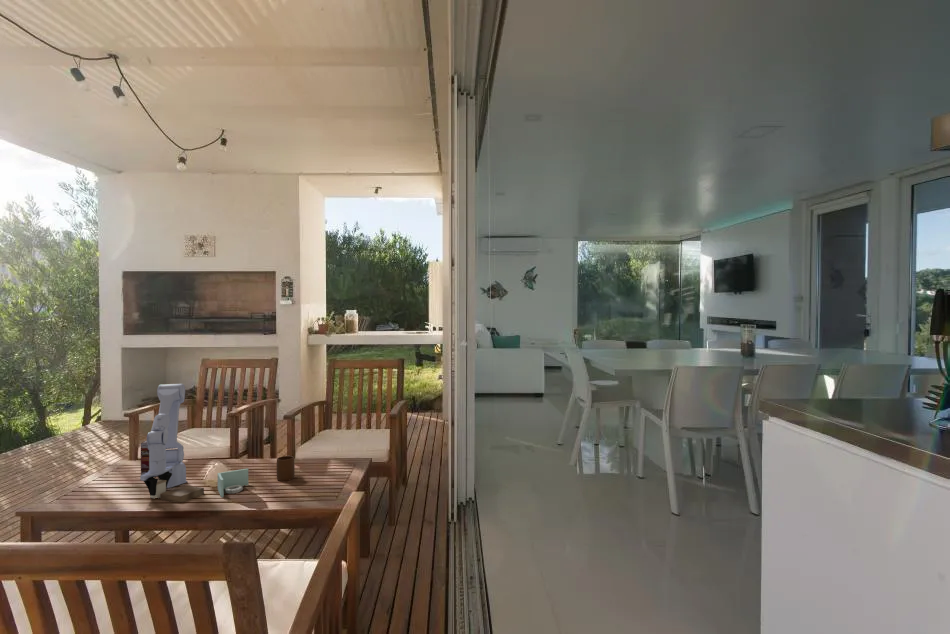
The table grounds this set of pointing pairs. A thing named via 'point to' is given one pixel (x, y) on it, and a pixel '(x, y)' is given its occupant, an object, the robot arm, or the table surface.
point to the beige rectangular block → (159, 488)
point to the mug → (285, 468)
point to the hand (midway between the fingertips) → (157, 493)
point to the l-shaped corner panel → (232, 481)
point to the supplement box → (144, 458)
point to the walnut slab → (182, 494)
